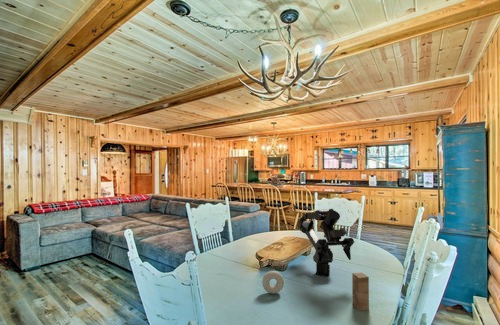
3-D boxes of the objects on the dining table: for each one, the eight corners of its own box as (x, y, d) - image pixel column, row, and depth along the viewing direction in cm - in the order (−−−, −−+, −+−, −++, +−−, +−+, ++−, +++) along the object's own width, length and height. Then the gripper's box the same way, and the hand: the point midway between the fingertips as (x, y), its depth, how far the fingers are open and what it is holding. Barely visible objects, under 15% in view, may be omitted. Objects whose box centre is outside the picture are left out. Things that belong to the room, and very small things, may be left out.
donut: (283, 291, 113) (283, 269, 114) (284, 295, 110) (284, 272, 110) (261, 291, 113) (261, 269, 113) (262, 295, 109) (262, 272, 110)
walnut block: (352, 304, 102) (352, 273, 103) (362, 303, 103) (361, 272, 103) (359, 310, 98) (358, 277, 98) (368, 309, 99) (368, 276, 99)
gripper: (317, 222, 119) (329, 253, 108) (352, 221, 123) (366, 250, 112) (310, 235, 127) (320, 264, 116) (343, 233, 130) (356, 261, 119)
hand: (341, 260), depth 115 cm, fingers open, 9 cm apart
